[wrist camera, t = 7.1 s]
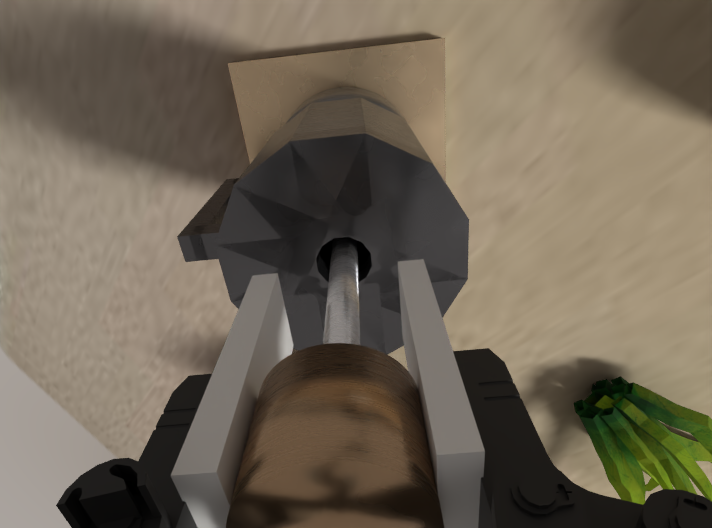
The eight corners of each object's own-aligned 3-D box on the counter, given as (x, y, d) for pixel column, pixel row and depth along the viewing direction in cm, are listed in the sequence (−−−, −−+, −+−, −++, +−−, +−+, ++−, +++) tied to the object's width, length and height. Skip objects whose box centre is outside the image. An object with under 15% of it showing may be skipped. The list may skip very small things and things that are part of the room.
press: (223, 63, 27) (87, 94, 13) (441, 37, 26) (542, 42, 12) (266, 249, 33) (204, 406, 19) (443, 232, 32) (512, 380, 18)
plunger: (308, 159, 22) (199, 474, 6) (377, 151, 22) (443, 455, 6) (318, 223, 24) (252, 598, 8) (382, 216, 24) (444, 585, 8)
